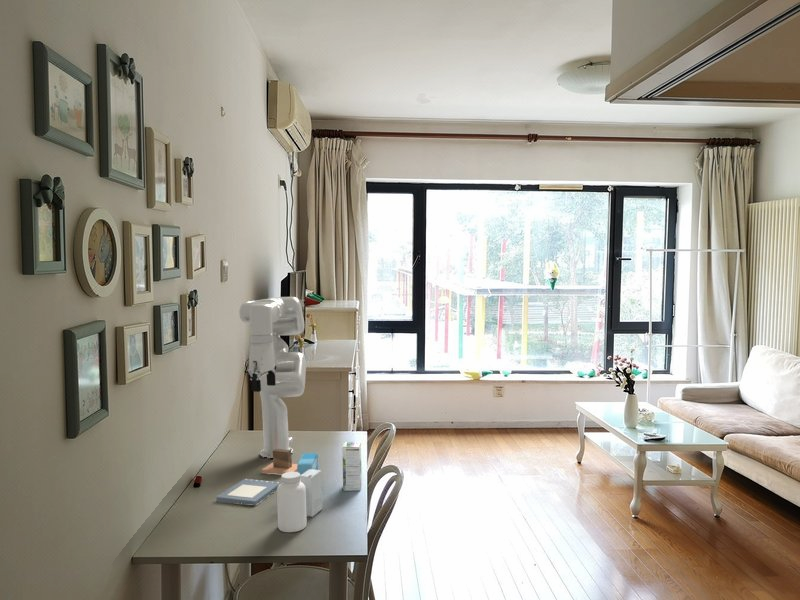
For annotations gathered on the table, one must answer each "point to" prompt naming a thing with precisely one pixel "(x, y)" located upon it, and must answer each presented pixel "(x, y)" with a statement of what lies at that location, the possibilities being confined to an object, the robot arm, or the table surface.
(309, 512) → the skincare box
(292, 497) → the pill bottle
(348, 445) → the syrup box
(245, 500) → the board
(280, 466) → the stub
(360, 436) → the table surface
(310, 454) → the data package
